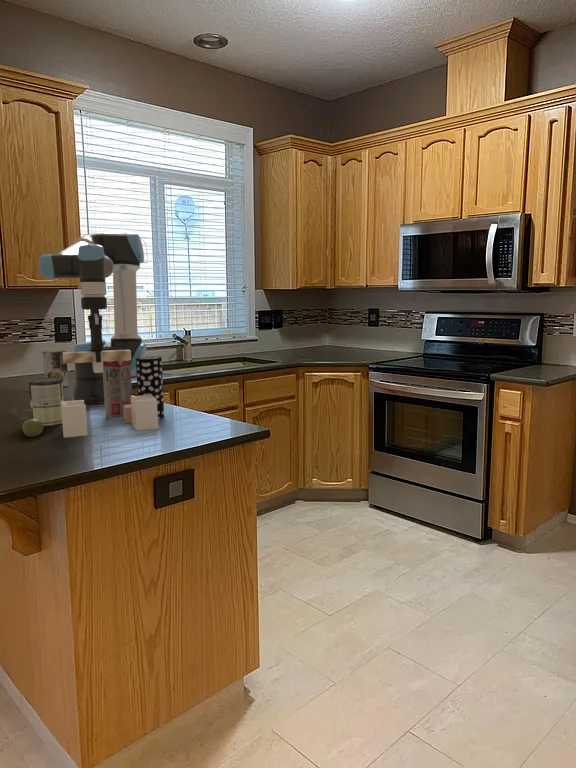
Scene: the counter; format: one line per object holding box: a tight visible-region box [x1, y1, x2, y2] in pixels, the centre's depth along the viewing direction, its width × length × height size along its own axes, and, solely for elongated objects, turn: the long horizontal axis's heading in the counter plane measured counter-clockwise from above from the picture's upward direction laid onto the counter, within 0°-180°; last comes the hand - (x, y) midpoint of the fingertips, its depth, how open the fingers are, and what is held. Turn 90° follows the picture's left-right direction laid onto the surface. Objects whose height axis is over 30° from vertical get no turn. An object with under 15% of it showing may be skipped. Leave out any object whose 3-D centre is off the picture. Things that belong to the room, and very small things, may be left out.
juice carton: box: [103, 360, 133, 417], centre depth 200 cm, size 7×7×22 cm
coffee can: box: [27, 377, 65, 427], centre depth 188 cm, size 10×10×14 cm
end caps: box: [61, 395, 159, 438], centre depth 177 cm, size 27×10×9 cm, turn 113°
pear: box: [21, 418, 44, 438], centre depth 173 cm, size 6×5×10 cm
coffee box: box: [42, 349, 70, 388], centre depth 263 cm, size 9×6×16 cm
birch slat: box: [63, 350, 131, 364], centre depth 183 cm, size 20×4×3 cm, turn 112°
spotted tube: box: [136, 355, 165, 420], centre depth 194 cm, size 8×8×20 cm
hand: (98, 371), depth 183 cm, fingers closed on birch slat, 4 cm apart
